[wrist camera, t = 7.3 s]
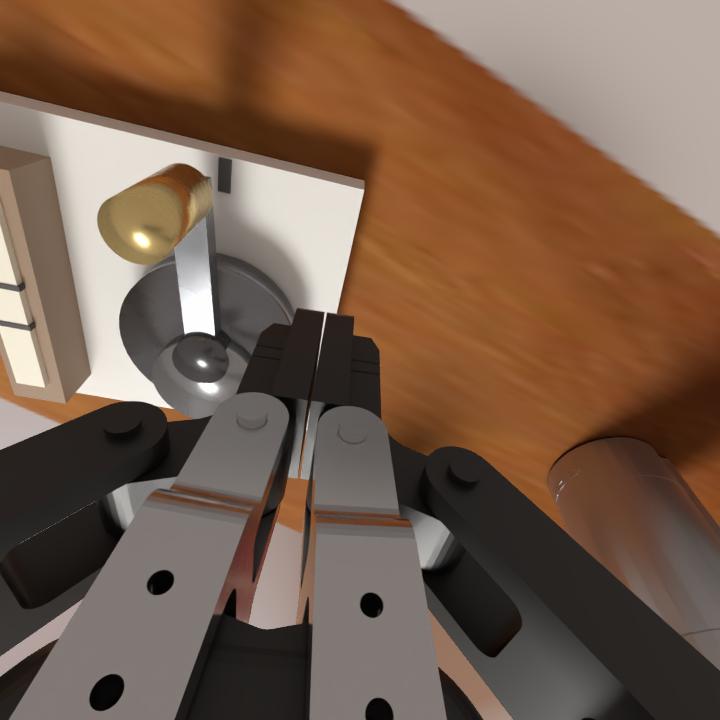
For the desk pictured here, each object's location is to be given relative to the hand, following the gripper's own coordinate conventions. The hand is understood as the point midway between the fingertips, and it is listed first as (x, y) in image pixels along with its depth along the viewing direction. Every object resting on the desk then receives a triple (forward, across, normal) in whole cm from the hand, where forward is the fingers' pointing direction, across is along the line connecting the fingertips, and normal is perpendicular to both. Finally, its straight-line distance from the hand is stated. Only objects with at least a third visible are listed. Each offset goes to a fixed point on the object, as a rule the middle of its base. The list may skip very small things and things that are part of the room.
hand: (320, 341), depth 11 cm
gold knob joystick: (+13, +7, +6) cm, 16 cm away
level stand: (+15, +10, +8) cm, 19 cm away
